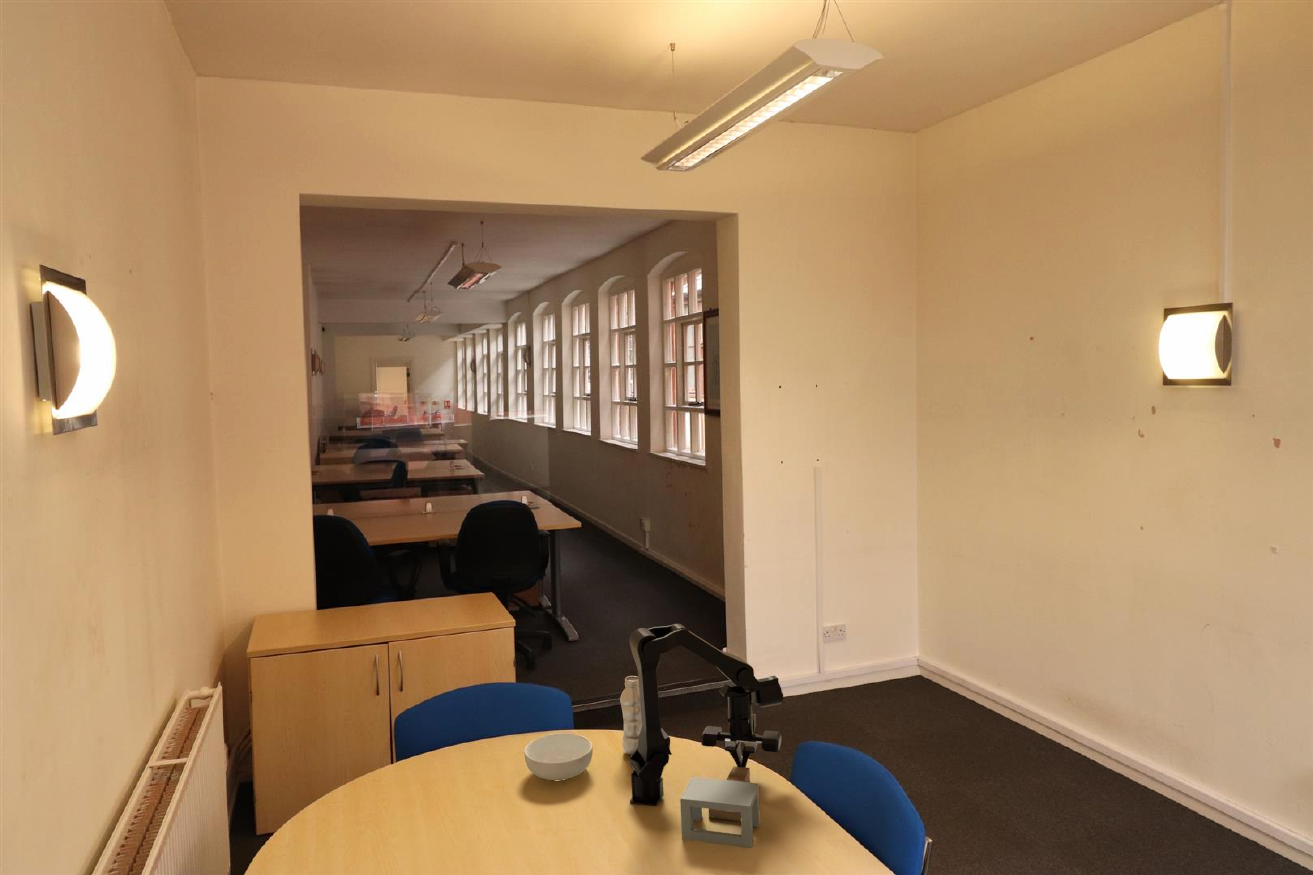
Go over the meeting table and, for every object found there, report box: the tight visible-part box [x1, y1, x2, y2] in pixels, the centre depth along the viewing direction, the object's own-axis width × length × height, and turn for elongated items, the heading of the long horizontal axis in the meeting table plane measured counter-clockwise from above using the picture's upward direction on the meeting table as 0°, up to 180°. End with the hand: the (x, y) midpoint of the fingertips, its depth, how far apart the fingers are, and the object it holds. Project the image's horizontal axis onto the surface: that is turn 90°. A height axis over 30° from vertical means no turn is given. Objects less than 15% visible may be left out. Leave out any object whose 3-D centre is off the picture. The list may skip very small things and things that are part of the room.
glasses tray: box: [708, 765, 751, 822], centre depth 200 cm, size 18×7×5 cm, turn 162°
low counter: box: [679, 776, 761, 849], centre depth 187 cm, size 15×10×9 cm, turn 73°
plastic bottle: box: [619, 675, 642, 756], centre depth 226 cm, size 6×7×20 cm
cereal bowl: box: [523, 732, 594, 781], centre depth 216 cm, size 17×17×7 cm
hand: (742, 772), depth 210 cm, fingers closed
